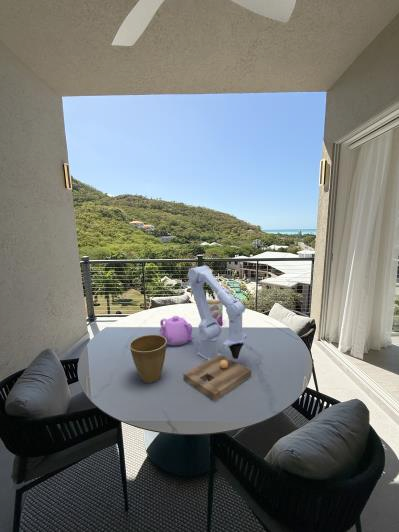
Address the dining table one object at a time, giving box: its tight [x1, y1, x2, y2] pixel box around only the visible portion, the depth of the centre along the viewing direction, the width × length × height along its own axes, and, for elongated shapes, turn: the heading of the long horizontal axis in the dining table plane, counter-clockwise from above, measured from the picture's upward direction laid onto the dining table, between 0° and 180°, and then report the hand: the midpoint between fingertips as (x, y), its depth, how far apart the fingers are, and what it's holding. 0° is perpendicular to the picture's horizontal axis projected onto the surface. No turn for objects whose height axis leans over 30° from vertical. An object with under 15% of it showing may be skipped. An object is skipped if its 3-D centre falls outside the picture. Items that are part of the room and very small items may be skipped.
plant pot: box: [129, 334, 168, 384], centre depth 106 cm, size 15×15×16 cm
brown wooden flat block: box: [182, 353, 252, 402], centre depth 106 cm, size 18×22×3 cm
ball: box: [220, 360, 228, 369], centre depth 108 cm, size 4×4×4 cm
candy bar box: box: [206, 298, 224, 327], centre depth 160 cm, size 11×5×16 cm, turn 92°
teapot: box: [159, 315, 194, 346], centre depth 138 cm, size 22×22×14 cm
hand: (235, 357), depth 113 cm, fingers closed
